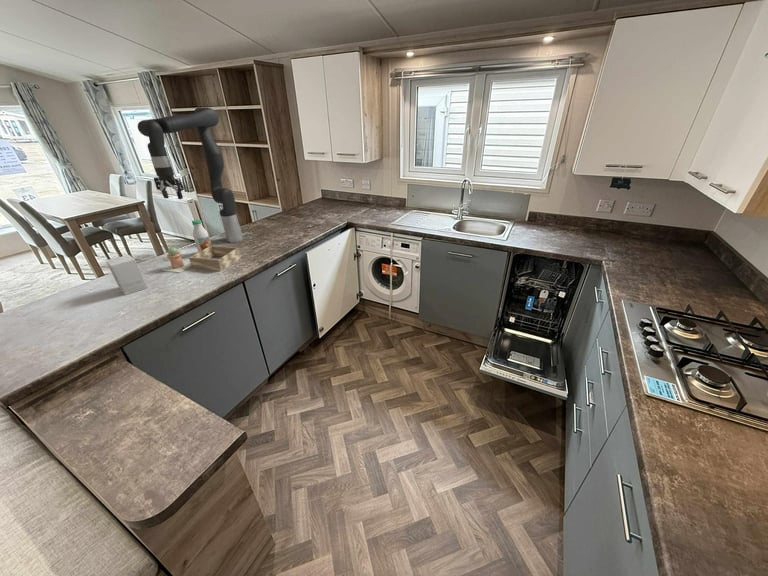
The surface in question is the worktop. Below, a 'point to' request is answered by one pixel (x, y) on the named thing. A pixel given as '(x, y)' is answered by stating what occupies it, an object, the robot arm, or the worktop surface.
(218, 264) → the wooden shadow box
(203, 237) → the milk bottle
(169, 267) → the sage mat
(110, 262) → the supplement box
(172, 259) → the terracotta pot
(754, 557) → the worktop surface
